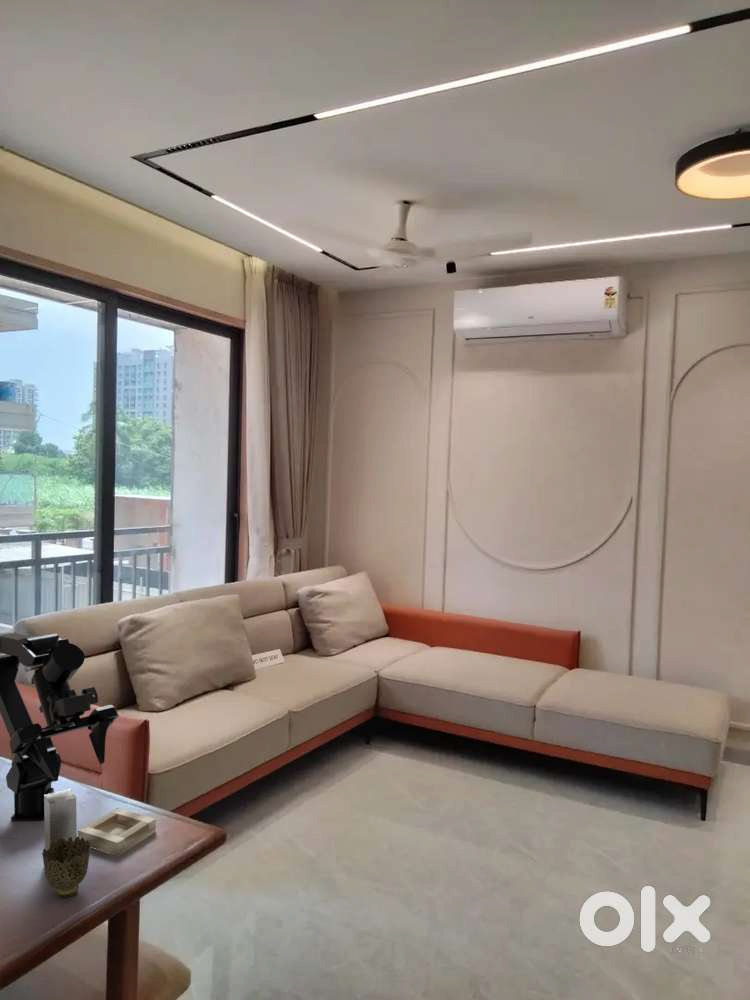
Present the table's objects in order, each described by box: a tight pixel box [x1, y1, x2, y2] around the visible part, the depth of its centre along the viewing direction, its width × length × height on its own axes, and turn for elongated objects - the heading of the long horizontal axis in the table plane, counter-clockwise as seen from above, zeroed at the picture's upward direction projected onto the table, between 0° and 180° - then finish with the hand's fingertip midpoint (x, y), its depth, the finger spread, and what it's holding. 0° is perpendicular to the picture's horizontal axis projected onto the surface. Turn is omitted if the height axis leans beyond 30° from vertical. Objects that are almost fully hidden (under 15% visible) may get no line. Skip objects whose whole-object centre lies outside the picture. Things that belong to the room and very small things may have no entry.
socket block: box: [77, 807, 157, 857], centre depth 141 cm, size 10×10×3 cm
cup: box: [41, 836, 91, 899], centre depth 123 cm, size 8×7×8 cm
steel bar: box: [43, 788, 78, 851], centre depth 130 cm, size 4×4×13 cm
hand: (79, 770), depth 135 cm, fingers open, 9 cm apart
